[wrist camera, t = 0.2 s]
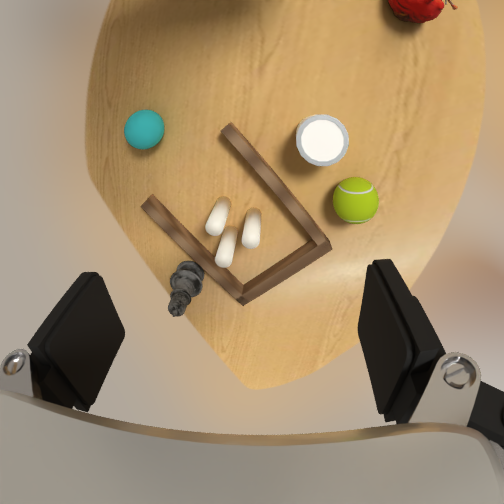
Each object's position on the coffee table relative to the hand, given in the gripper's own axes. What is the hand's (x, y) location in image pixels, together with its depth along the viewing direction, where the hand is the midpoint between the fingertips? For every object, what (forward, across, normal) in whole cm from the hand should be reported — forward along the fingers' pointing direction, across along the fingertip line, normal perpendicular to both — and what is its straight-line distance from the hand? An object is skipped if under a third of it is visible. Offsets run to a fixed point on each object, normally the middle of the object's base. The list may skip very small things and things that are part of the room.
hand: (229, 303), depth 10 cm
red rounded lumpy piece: (+37, -24, -23) cm, 50 cm away
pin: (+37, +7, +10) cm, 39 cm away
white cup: (+37, -8, 0) cm, 38 cm away
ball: (+34, +16, -4) cm, 38 cm away
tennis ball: (+37, -14, +9) cm, 41 cm away
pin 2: (+37, +2, +12) cm, 39 cm away
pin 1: (+37, +6, +15) cm, 40 cm away
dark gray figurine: (+37, +15, +23) cm, 46 cm away
